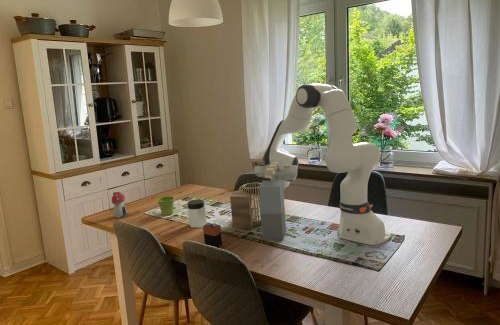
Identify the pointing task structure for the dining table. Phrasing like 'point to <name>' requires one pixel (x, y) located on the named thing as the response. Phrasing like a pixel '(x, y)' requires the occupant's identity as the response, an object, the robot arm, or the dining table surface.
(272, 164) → the bar
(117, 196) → the decorative ornament
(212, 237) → the battery
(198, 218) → the jar
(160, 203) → the plant pot
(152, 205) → the dining table surface
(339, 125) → the robot arm
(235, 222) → the boxes
